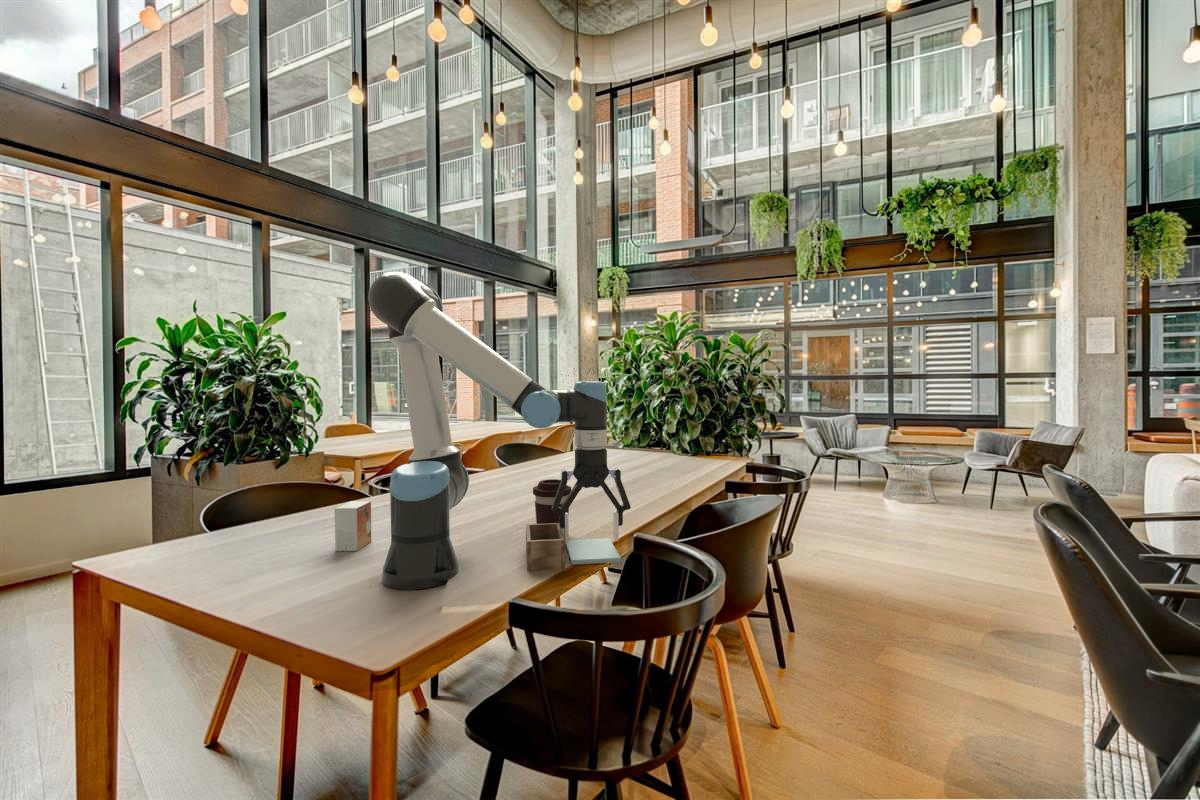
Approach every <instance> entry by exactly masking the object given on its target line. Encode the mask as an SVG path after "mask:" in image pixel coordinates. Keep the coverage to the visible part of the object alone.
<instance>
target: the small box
mask: <svg viewBox="0 0 1200 800" xmlns="http://www.w3.org/2000/svg"><path fill="white" fill-rule="evenodd" d="M371 542H372V502H371V501H363V500H362V501H361V500H358V501H356V500H355V501H354V500H353V501H352V500H351V501H348V502H347V503H344V504H343V505H340V506H338V507H335V508H334V546H335V547H334V549H335V550H334V551H335V552H357V551H359V550H361V549H362V548H363V547H366V546H367V545H368V544H370V543H371Z"/></svg>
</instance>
